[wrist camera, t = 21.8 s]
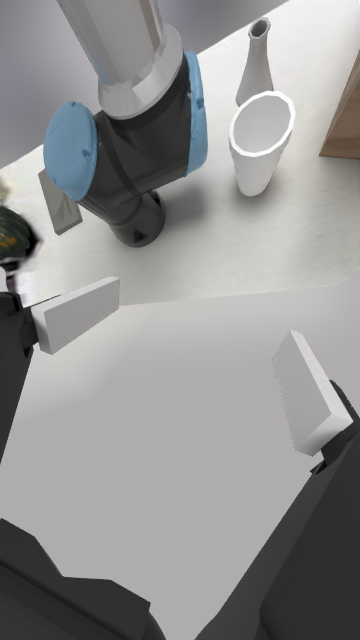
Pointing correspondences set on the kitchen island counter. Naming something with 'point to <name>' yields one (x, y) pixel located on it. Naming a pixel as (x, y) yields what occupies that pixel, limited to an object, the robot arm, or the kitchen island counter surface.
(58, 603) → the robot arm
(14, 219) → the squash
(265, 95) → the foam cup
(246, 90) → the flask
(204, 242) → the kitchen island counter surface
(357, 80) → the walnut stand
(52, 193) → the soap mold
